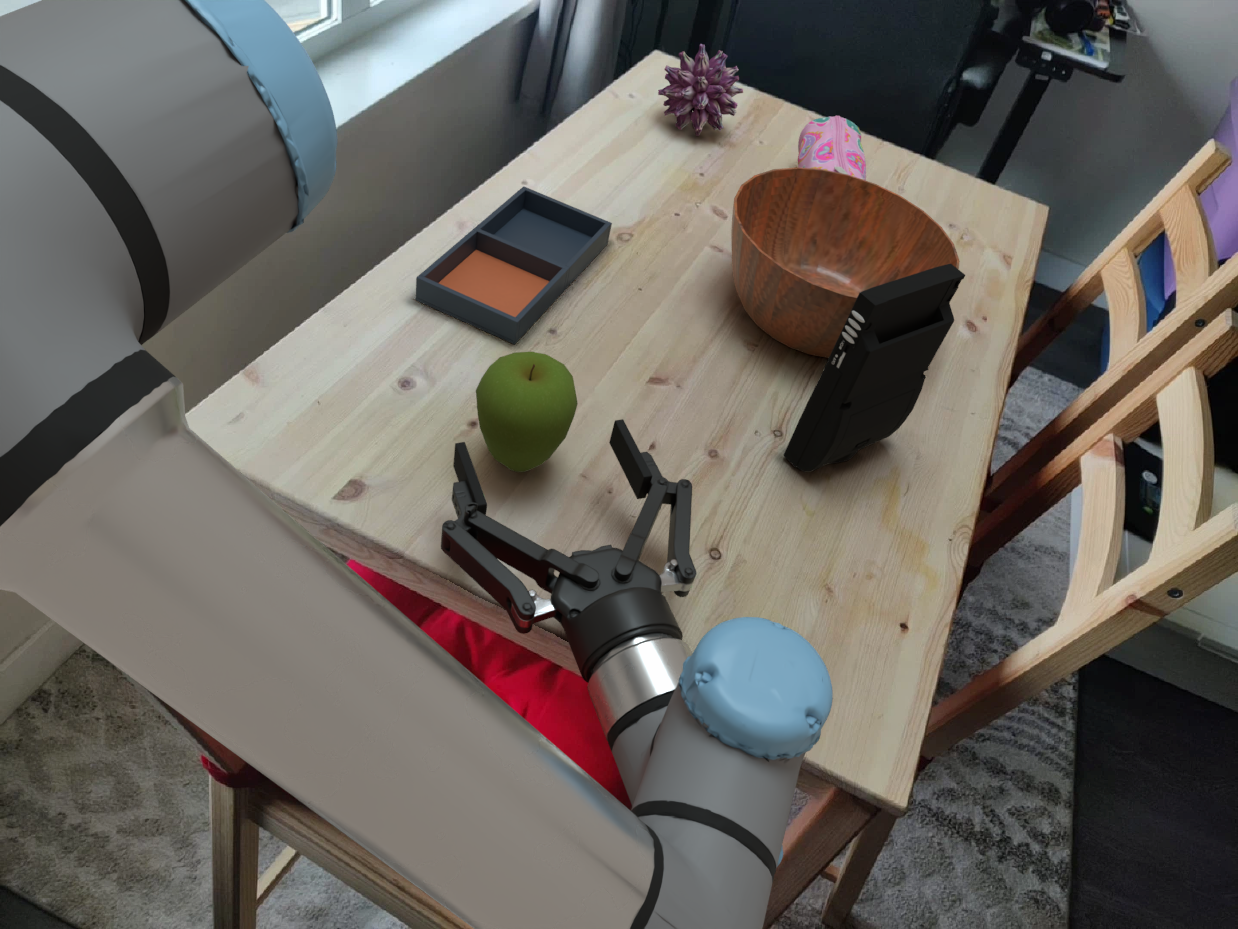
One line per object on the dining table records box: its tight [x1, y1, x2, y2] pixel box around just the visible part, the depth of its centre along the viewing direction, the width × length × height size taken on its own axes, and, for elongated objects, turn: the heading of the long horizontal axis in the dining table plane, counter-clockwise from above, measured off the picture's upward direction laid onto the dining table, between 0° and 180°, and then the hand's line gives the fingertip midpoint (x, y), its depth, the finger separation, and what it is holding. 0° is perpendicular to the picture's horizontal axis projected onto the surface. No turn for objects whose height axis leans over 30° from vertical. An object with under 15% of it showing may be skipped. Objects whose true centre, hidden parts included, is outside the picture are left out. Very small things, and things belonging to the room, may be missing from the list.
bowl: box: [730, 166, 961, 359], centre depth 102 cm, size 25×25×11 cm
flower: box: [657, 43, 744, 137], centre depth 128 cm, size 12×12×12 cm
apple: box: [475, 351, 579, 473], centre depth 78 cm, size 9×8×12 cm
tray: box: [415, 186, 613, 345], centre depth 100 cm, size 23×12×3 cm, turn 156°
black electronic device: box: [783, 264, 966, 473], centre depth 83 cm, size 12×5×20 cm, turn 125°
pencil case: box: [797, 115, 867, 181], centre depth 120 cm, size 21×9×9 cm, turn 173°
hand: (539, 441), depth 75 cm, fingers open, 13 cm apart
